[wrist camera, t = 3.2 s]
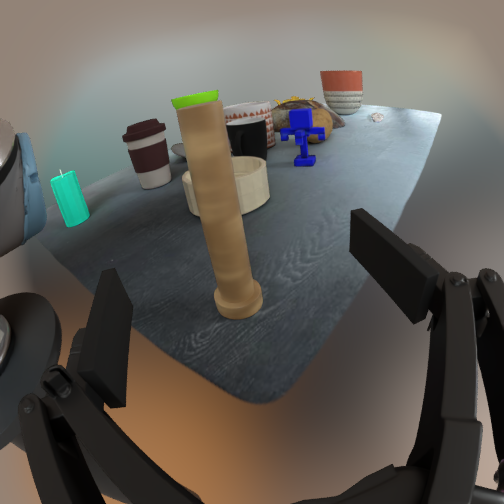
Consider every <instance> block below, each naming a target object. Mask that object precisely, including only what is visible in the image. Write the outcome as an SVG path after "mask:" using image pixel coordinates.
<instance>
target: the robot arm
mask: <svg viewBox="0 0 504 504" xmlns="http://www.w3.org/2000/svg"><path fill="white" fill-rule="evenodd" d="M46 220H47V214H46V208H45V203H44V198H43V193H42V189H41V185H40V181H39V178H38V173H37V168H36V162H35V158H34V154H33V149H32V145H31V141H30V138H29V136H28V134H27V133H17V134H16V135H15V133H14V130H13V127H12V126H11V124H10V123H9V122H7V121H6V120H3V119H0V257H2V256H4V255H5V254H7V253H9V252H10V251H12V250H14V249H15V248H17V247H19V246H20V245H24V244H25V242H26V241H27V240H28V239H30V238H31V237H32V236H34V235H36V234H37V233H39V232H40V231H41V230H42V229H43V228H44V226H45V224H46ZM349 252H350V253H351V254H352V255H353V256H354V257H355V258H356V259H357V260H358V262H359V263H360V264H361V265H362V266H363V267H364V268H365V269H366V270H367V271H368V273H369V274H370V275H371V276H372V277H373V278H374V279H375V280H376V281H377V283H378V284H379V285H380V286H381V287H382V288H383V289H384V290H385V292H386V293H387V294H388V295H389V296H390V297H391V298H392V300H393V301H394V302H395V303H396V304H397V306H398V307H399V308H400V309H401V310H402V311H403V313H404V314H405V315H406V316H407V317H408V319H409V320H410V321H411V322H412V323H413V324H416V323H418V322H420V321H422V320H424V319H425V318H426V315H427V312H428V310H430V311H431V312H432V314H433V315H432V318H431V321H430V323H429V326H428V329H427V331H429V330H430V328H431V332H430V349H429V360H428V370H427V378H426V386H425V393H424V399H423V405H422V412H421V417H420V422H419V428H418V432H417V437H416V441H415V445H414V447H413V449H412V452H411V454H410V455H409V458H408V461H407V464H406V466H401V467H394V466H393V464H391V465H389V466H387V467H385V468H383V469H381V470H379V471H377V472H375V473H372V474H370V475H368V476H366V477H365V478H363V479H362V480H360V481H359V482H358V483H356V484H355V485H353V486H352V487H351V488H349V489H348V490H347V491H345V492H343V493H342V494H340V495H338V496H334V497H327V498H319V499H309V500H302V501H299V502H296V503H292V504H504V283H503V281H502V279H501V277H500V276H499V275H498V273H497V272H495V271H494V270H491V269H487V268H485V269H482V270H480V272H479V275H478V278H471V279H467V278H466V276H464V275H463V274H461V273H458V272H450V273H449V272H447V271H446V270H445V269H444V268H443V267H442V266H441V265H440V264H438V263H437V262H436V261H435V260H434V259H433V258H431V257H430V256H429V255H428V254H426V252H424V251H423V250H422V249H421V248H420V247H418V246H416V245H413V244H411V243H409V244H406V243H405V242H404V241H403V240H402V239H400V238H399V237H398V236H397V235H395V234H394V233H393V232H392V231H391V230H389V229H388V228H387V227H386V226H384V225H383V224H382V223H381V222H379V221H378V220H377V219H375V218H374V217H373V216H372V215H370V214H369V213H368V212H366V211H365V210H364V209H363V208H360V209H356V210H351V221H350V249H349ZM488 311H489V313H488ZM132 312H133V305H132V303H131V301H130V299H129V297H128V295H127V293H126V291H125V289H124V287H123V285H122V282H121V280H120V278H119V276H118V274H117V272H116V269H115V268H112V269H108V270H104V271H102V273H101V277H100V280H99V283H98V286H97V290H96V293H95V297H94V300H93V304H92V307H91V311H90V315H89V318H88V322H87V326H86V328H81V329H79V330H78V331H77V333H76V334H75V336H74V338H73V342H72V348H71V349H70V355H69V358H68V362H67V366H66V369H65V368H64V367H63V366H62V365H53V366H51V367H49V368H48V369H47V370H46V371H45V372H44V373H43V375H42V377H41V382H40V383H41V387H42V388H43V389H44V390H45V391H46V392H47V393H48V394H49V395H48V396H46V397H44V398H42V399H40V398H39V397H37V396H36V395H35V394H31V393H30V394H27V395H25V396H24V397H23V398H22V399H21V401H20V403H19V406H18V414H19V420H20V426H21V431H22V436H23V441H24V445H25V449H26V453H27V457H28V461H29V465H30V469H31V472H32V476H33V479H34V482H35V485H36V488H37V491H38V494H39V497H40V500H41V503H42V504H106V503H105V501H104V499H103V497H102V495H101V493H100V491H99V489H98V487H97V485H96V483H95V481H94V479H93V477H92V474H91V472H90V470H89V468H88V466H87V463H86V461H85V459H84V456H83V454H82V451H81V449H80V446H79V444H78V441H77V439H76V436H75V435H77V437H78V438H79V440H80V441H81V442H82V444H83V445H84V447H85V448H86V449H87V451H88V452H89V453H90V455H91V456H92V457H93V458H94V460H95V461H96V462H97V464H98V465H99V466H100V467H101V468H102V470H103V471H104V472H105V473H106V475H107V476H108V477H109V478H110V479H111V480H112V482H113V483H114V484H115V485H116V486H117V487H118V488H119V489H120V490H121V492H122V493H123V494H124V495H125V496H126V497H127V498H128V499H129V500H130V501H131V502H132V503H133V504H204V503H203V502H202V501H200V500H199V499H198V498H196V497H195V496H194V495H192V494H191V493H190V492H189V491H187V490H186V489H185V488H184V487H182V486H181V485H180V484H179V483H177V482H176V481H175V480H174V479H173V478H171V477H170V476H169V475H168V474H167V473H166V472H165V471H163V470H162V469H161V468H160V467H159V466H158V465H157V464H156V463H155V462H154V461H152V460H151V459H150V458H149V457H148V456H147V455H146V454H145V453H144V452H143V451H142V450H141V449H140V448H139V447H138V446H137V445H136V444H135V443H134V442H133V441H132V440H131V439H130V438H129V437H128V436H127V435H126V434H125V433H124V432H123V431H122V430H121V428H120V427H119V426H118V425H117V424H116V423H115V422H114V421H113V420H112V418H111V417H110V416H109V415H108V414H107V413H106V412H105V411H104V402H105V403H106V404H107V405H108V407H110V408H120V407H126V387H127V367H128V353H129V341H130V331H131V321H132ZM14 341H15V336H14V331H13V329H12V327H11V326H10V325H9V323H8V322H7V320H6V319H5V318H4V317H3V316H2V315H1V314H0V377H1V375H2V374H3V372H4V370H5V368H6V366H7V364H8V362H9V360H10V358H11V355H12V352H13V348H14ZM477 359H478V363H479V367H480V370H481V374H482V378H483V383H484V387H485V392H486V396H487V401H488V406H489V412H490V417H491V423H492V430H493V438H494V444H495V450H496V454H497V458H498V461H499V467H498V470H497V471H496V472H495V474H494V481H495V482H496V483H498V488H497V490H493V489H488V488H485V487H481V486H477V485H475V482H476V476H477V471H478V465H479V458H480V451H481V441H482V432H483V429H482V428H483V427H482V423H481V422H480V421H477V418H476V413H477V388H478V383H477V382H478V369H477Z"/></svg>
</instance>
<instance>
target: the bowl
mask: <svg viewBox="0 0 504 504" xmlns="http://www.w3.org/2000/svg"><path fill="white" fill-rule="evenodd" d="M231 158H232V164H233V169H234V175H235V181H236V187H237V192H238V198H239V204H240V210H241V215H242V214H245V213H248V212H250V211H253V210H255V209H256V208H258V207H260V206H261V205H263V204H264V203H265V202H266V201H267V200H268V199H269V197H270V189H269V181H268V174H267V166H266V161H264V160H263V159H261V158H258V157H251V156H236V157H231ZM182 181H183V185H184V189H185V194H186V198H187V202H188V206H189V210H190V212H192V213H193V214H194V215H197V216H200V215H199V211H198V207H197V203H196V198H195V194H194V190H193V186H192V181H191V177H190V173H189V170H188V171H187V172H185V173H184V175H183V176H182Z"/></svg>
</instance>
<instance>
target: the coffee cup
mask: <svg viewBox="0 0 504 504" xmlns="http://www.w3.org/2000/svg"><path fill="white" fill-rule="evenodd" d="M164 130H166V127H165V124H164V123H159V122H158V120H157V119H150V120H146V121H143V122H139V123H136V124H134V125H131V126H128V127H127V133H126V134H124V135H123V136H122V138H123V141H124V142H126V143H127V146H128V152H129V155H130V158H131V161H132V164H133V166H134V169H135V172H136V173H137V175H138V178H139V181H140V183H141V186H142V188H143V189H153V188H157V187H160V186H163V185H165V184H167V183H168V182H169V181H170V180H171V173H170V167H169V155H168V149H167V144H166V139H165V136H164Z"/></svg>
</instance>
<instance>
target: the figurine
mask: <svg viewBox="0 0 504 504" xmlns="http://www.w3.org/2000/svg"><path fill="white" fill-rule="evenodd" d="M289 118H290V127H291V128H281V129H280V134H281V141H288V140H289V137H288V135H295V142H296V145H300V149H301V155H297V157H296V158H295V159H294V166H313V165H314V163H315V161H316V157H315V155H308V145H307V137H309V136H310V134H318V140H325V127H313V120H312V110H311V108H303V109H292V110H290V111H289Z"/></svg>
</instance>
